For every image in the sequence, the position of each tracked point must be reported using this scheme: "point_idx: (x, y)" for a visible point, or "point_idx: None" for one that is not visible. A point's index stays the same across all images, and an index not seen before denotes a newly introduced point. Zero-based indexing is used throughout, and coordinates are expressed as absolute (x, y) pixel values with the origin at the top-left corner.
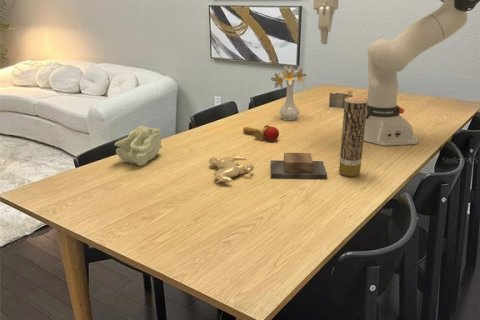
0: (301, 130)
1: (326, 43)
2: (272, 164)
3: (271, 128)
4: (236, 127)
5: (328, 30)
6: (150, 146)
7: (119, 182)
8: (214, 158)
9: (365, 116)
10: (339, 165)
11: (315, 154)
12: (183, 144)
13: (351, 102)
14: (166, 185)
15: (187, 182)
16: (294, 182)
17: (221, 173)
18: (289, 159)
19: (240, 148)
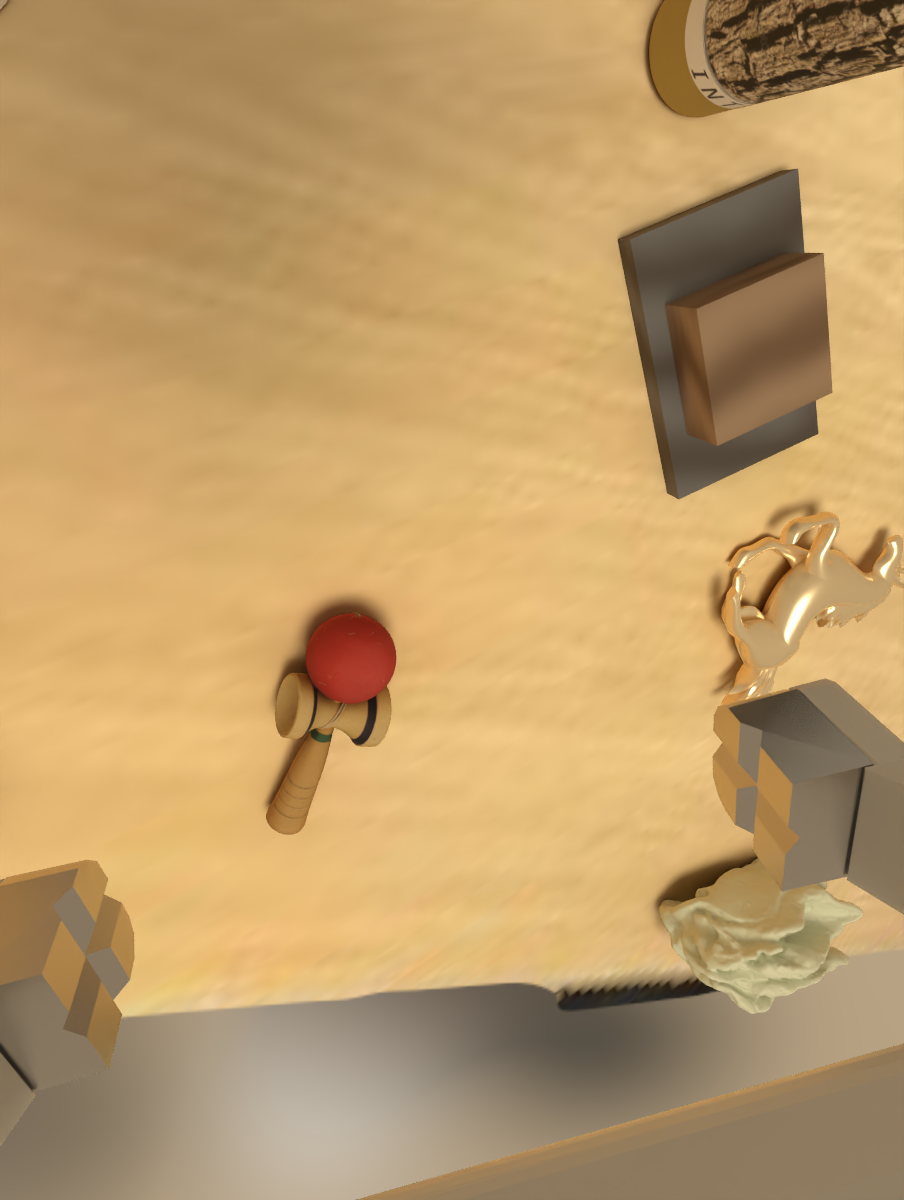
0: (36, 566)
1: (83, 864)
2: (722, 471)
3: (378, 670)
4: (212, 892)
5: (466, 1171)
6: (795, 893)
7: None
8: (758, 691)
9: None
10: (722, 111)
11: (471, 324)
12: (546, 900)
13: None
14: (887, 705)
15: (864, 668)
16: (829, 317)
17: (882, 590)
18: (797, 385)
19: (516, 703)
